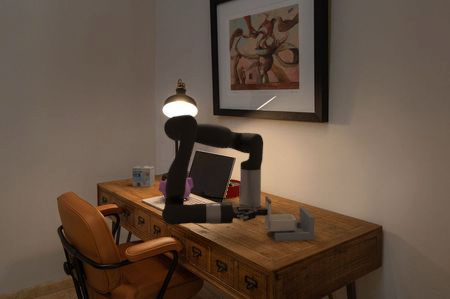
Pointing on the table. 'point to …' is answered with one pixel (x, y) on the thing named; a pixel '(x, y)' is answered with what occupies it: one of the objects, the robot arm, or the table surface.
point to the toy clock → (233, 189)
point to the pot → (187, 190)
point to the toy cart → (278, 220)
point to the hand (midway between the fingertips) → (266, 211)
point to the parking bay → (299, 229)
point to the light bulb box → (143, 176)
